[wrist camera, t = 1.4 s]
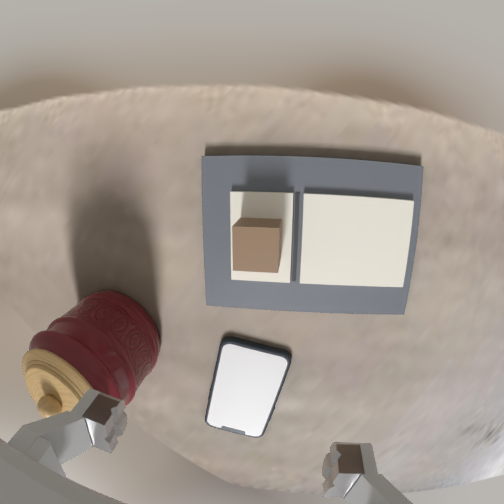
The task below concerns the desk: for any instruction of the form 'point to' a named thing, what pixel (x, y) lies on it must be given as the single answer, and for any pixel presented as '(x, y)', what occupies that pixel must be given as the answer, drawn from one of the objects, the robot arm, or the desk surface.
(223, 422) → the smartphone
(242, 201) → the tan cube with base
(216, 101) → the desk surface
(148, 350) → the canister
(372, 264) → the board
